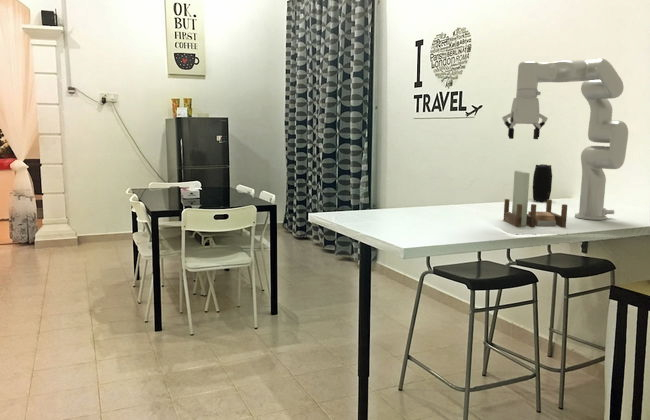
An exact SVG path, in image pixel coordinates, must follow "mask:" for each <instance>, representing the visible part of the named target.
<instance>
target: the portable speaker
mask: <svg viewBox="0 0 650 420" xmlns="http://www.w3.org/2000/svg"><path fill="white" fill-rule="evenodd" d="M552 169H553V168H552V165H551V164H543V163H542V164H535V169H534V172H533V179H532V199H533V202H534V201H535V202H537V203H544V202H547V199H550V196H551V192H552V187H553V186H552V184H553V170H552Z"/></svg>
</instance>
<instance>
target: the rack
mask: <svg viewBox="0 0 650 420" xmlns="http://www.w3.org/2000/svg"><path fill="white" fill-rule="evenodd" d="M552 203H553V200H552V199H550V198H549V199H547V201H546V206H545V212H549V213H551V214H553V215H554V216H555V220H556V226H558V227H560V228H567V217H568V216H567V215H568V213H567V212H568V204H561V213H560V214H558V213H555V212H552ZM503 206H504V207H503V221H505V222H507V223H508V224H510V225H512V226H514V227H516V228H521V227H522V226H521V217H522V204H517V213H516V215H515V214H513V213H512V211H511V212H510V198H509V199H508V198H504V205H503ZM530 211H531V214H530V215H529V214H528V213H527V221H526V226H528V227H530V228H536V226H535V220H536V212H537V204H535V203H531V204H530Z"/></svg>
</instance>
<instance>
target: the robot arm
mask: <svg viewBox="0 0 650 420" xmlns="http://www.w3.org/2000/svg"><path fill="white" fill-rule="evenodd" d="M516 81H517V82H516V95H515V97H514V98H512V99H513V100H512V105H511V108H510V109H511V110H510V113H508V114H505V115H504V116H502V117H501V119H502V121H503V123H504V125H505V126H506V128H507V129H508V133H507V137H508V139H511V140H513V139H514V136H515V129H514V127H515V126H516V125H517V124H520V125H523V124H524V125H533V127H534V129H533V137H532V138H533V140H538V139H539V137H540V134H541V133H540V131H541V130H540V129H542V127H543V126H545V124H546V122H547V121H548V117H547V116H545V115H544V114H541V113H540V101H539V97H538V96H541V91H539V90H538V83H571V82H573V83H574V82H582V83H581V86H580V87H581V88H580V93H581V94H582V96H583V97H584V98H585V100H586V102H587V103H588V105H589V109H590V113H589V115H590V116H589V122H588V131H587V138H588V140H589V141H590V142H593V143H597V144H609V146H606V145H589V146H587V147H585V148H583V150H582V151H581V154H580V161H581V183H580V184H581V185H580V194H579V195H580V196H579V209H578V212H577V213H575V214H574V217H575V218H577V219H583V220H589V221H591V220H592V221H604V220H607V215H614V214H615V209H606V208H604V205H605V194H606V193H605V192H606V184H607V183H606V182H607V178H606V175H605V172H604V169H605V170H619V169H620V168H622V167H623V165H624V164H625V160H626V153H627V147H628V140H629V129H628V125H627V124H626V123H625V121H622V120H613V118H612V117H613V106H612V103H611V102H610V100H609V99H616V98H619V97H620V96H622V94H623V93H624V82H623V79H622V78H621V77H620V75H619V74H618V72H617V71H616V69H615V67H613V65H612V64H611V62H610V61H608V60H607V59H605V58H594V59H593V58H592V59H580V60H579V59H576V60H569V59H567V60H559V61H552V62H550V61H545V62H543V61H541V62H537V61H533V60H528V61H527V60H526V61H521V62H520V63H518V68H517V80H516ZM540 119H541V122H540ZM509 121H510V122H509Z"/></svg>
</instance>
